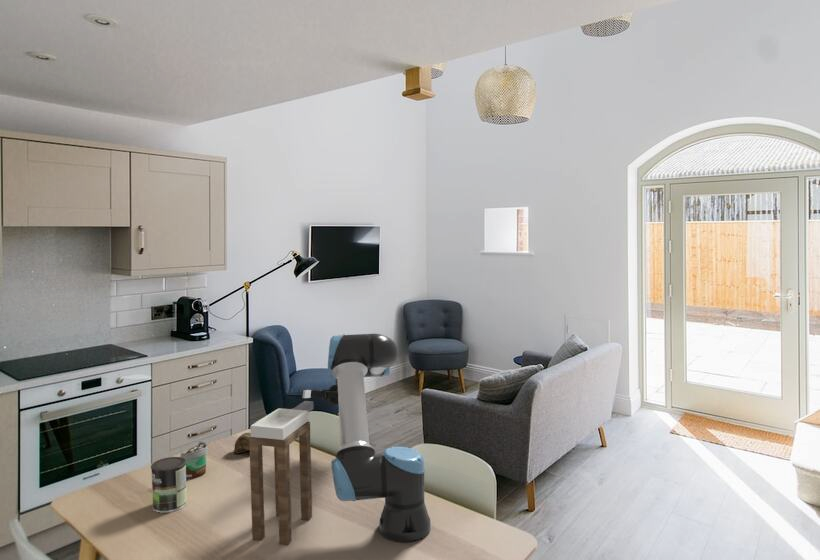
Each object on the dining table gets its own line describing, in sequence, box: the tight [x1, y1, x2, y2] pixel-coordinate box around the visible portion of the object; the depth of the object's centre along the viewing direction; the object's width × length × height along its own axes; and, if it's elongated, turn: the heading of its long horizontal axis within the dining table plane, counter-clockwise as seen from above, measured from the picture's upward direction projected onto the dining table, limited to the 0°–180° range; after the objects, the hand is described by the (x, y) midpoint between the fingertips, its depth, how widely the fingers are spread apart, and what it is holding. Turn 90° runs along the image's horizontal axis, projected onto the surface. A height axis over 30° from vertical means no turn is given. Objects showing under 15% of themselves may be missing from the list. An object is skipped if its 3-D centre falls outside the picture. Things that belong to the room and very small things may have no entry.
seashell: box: [233, 431, 251, 454], centre depth 216 cm, size 11×9×8 cm
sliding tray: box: [250, 400, 314, 440], centre depth 161 cm, size 27×10×3 cm, turn 165°
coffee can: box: [150, 456, 188, 514], centre depth 172 cm, size 10×10×14 cm
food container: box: [179, 441, 209, 480], centre depth 195 cm, size 12×6×10 cm, turn 168°
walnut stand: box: [249, 421, 313, 546], centre depth 157 cm, size 16×11×30 cm
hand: (322, 395), depth 185 cm, fingers open, 13 cm apart
